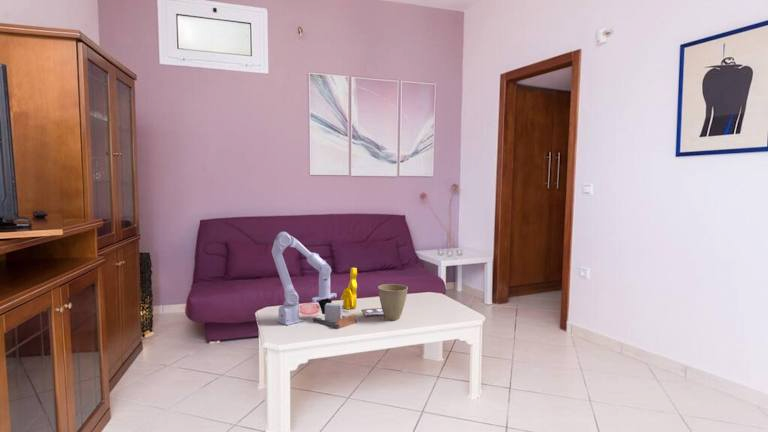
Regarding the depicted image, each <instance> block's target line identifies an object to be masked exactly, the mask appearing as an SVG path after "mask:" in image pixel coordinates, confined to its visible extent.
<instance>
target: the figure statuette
mask: <svg viewBox="0 0 768 432" xmlns="http://www.w3.org/2000/svg"><path fill="white" fill-rule="evenodd" d="M349 273H350V275H349V276H350V280H349V283H348V286H346V287H345V288H344V289H343V292H342V295H341V297H340V300H341V301H343V303H342V309H346V310H350V309H356V308H357V297H358V296H357V290H358V283H357V276H358V270H357V267H350V271H349Z"/></svg>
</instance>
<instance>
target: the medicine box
mask: <svg viewBox="0 0 768 432" xmlns="http://www.w3.org/2000/svg"><path fill="white" fill-rule="evenodd" d="M342 316H343V303H340V302H339V303H338V302H337V303H335V302H333V303H332V302H331V303H327V304H326V305H325V314H324V320H325V321H328V322H331V323H334V324H336V320H337V319H340V318H342Z"/></svg>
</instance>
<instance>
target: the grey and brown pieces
mask: <svg viewBox="0 0 768 432" xmlns="http://www.w3.org/2000/svg"><path fill="white" fill-rule="evenodd" d="M356 316H357V315H356V314H351V315H347V316H345V315H342V318H340V319H337V320H336V323H331V322H328V321H325V319H322V318H318V317H313V318H312V321H313V322H316V323H319V324H321V325H325V326H328V327H330V328H334V329H337V330H339V329H341V328H345V327H348V326H351V325H352V326H353V325H354V324H357V323H358V322H357V321H358V320H357V317H356Z"/></svg>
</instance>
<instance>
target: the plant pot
mask: <svg viewBox="0 0 768 432" xmlns="http://www.w3.org/2000/svg"><path fill="white" fill-rule="evenodd" d="M377 287H378V289H377V290H378V297H379V301H380V305H381V306H380V307H381V309H382V312H383V316H384V318H385V319H386V320H388V321H398V320H399V319H400V318H401V315H402V313H403V310H404V307H405V303H406V300H407V295H408V290H409V288H408V286H406V285H404V284H397V283H385V284H381V285H378V286H377Z"/></svg>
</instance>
